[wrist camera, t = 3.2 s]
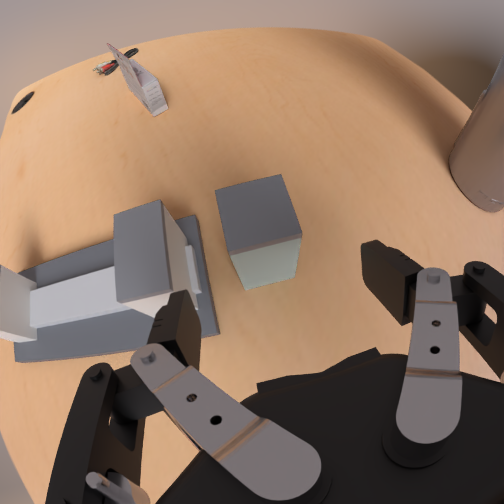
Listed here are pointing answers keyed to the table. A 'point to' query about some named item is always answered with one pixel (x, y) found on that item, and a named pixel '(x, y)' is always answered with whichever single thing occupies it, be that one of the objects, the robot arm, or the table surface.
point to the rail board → (107, 290)
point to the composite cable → (113, 63)
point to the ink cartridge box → (141, 83)
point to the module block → (260, 230)
